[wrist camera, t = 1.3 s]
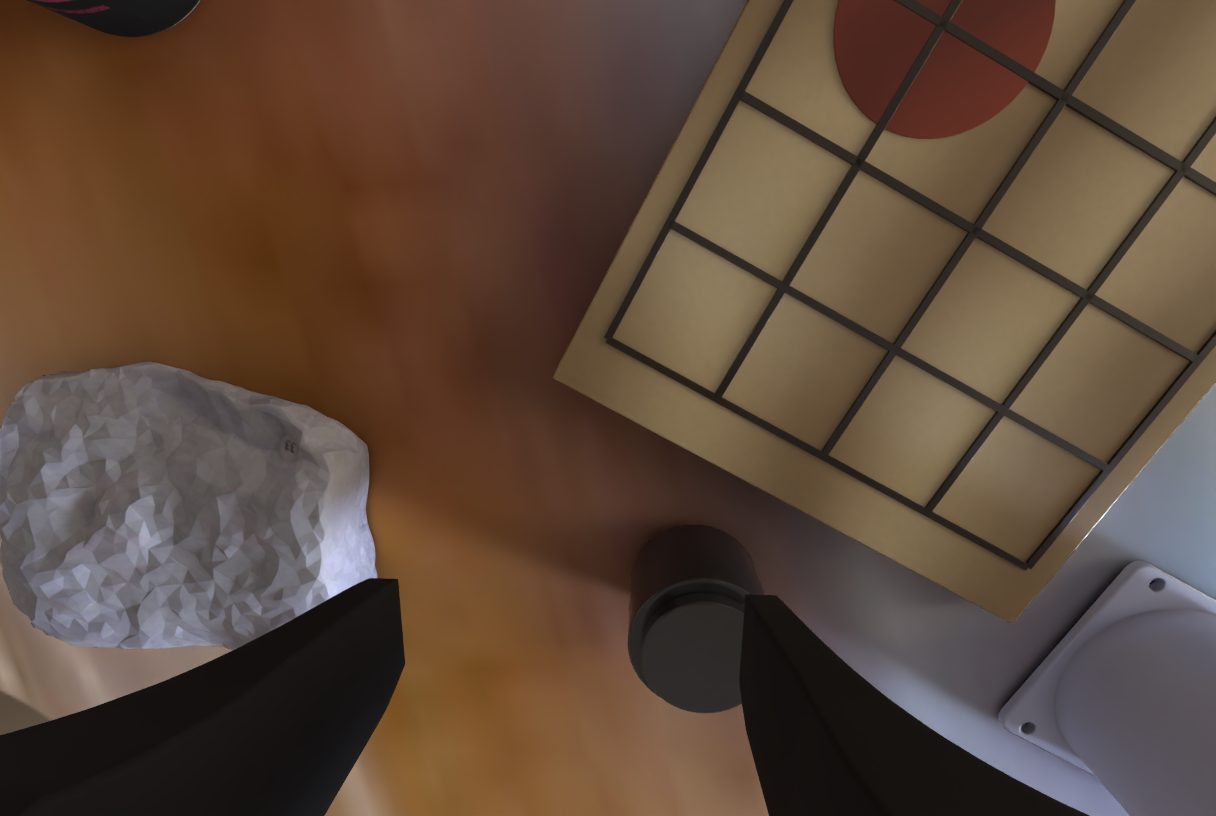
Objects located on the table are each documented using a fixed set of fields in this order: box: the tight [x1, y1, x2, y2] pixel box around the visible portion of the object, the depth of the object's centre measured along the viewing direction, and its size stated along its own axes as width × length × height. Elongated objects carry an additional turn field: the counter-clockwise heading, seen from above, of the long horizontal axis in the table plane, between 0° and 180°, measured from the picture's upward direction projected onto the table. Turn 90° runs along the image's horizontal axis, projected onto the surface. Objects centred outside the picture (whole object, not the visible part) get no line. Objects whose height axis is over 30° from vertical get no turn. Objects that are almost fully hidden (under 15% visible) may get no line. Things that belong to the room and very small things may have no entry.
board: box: [553, 0, 1216, 624], centre depth 18 cm, size 18×20×2 cm
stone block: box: [0, 361, 377, 650], centre depth 21 cm, size 12×5×10 cm
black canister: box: [628, 525, 765, 713], centre depth 20 cm, size 5×5×5 cm
